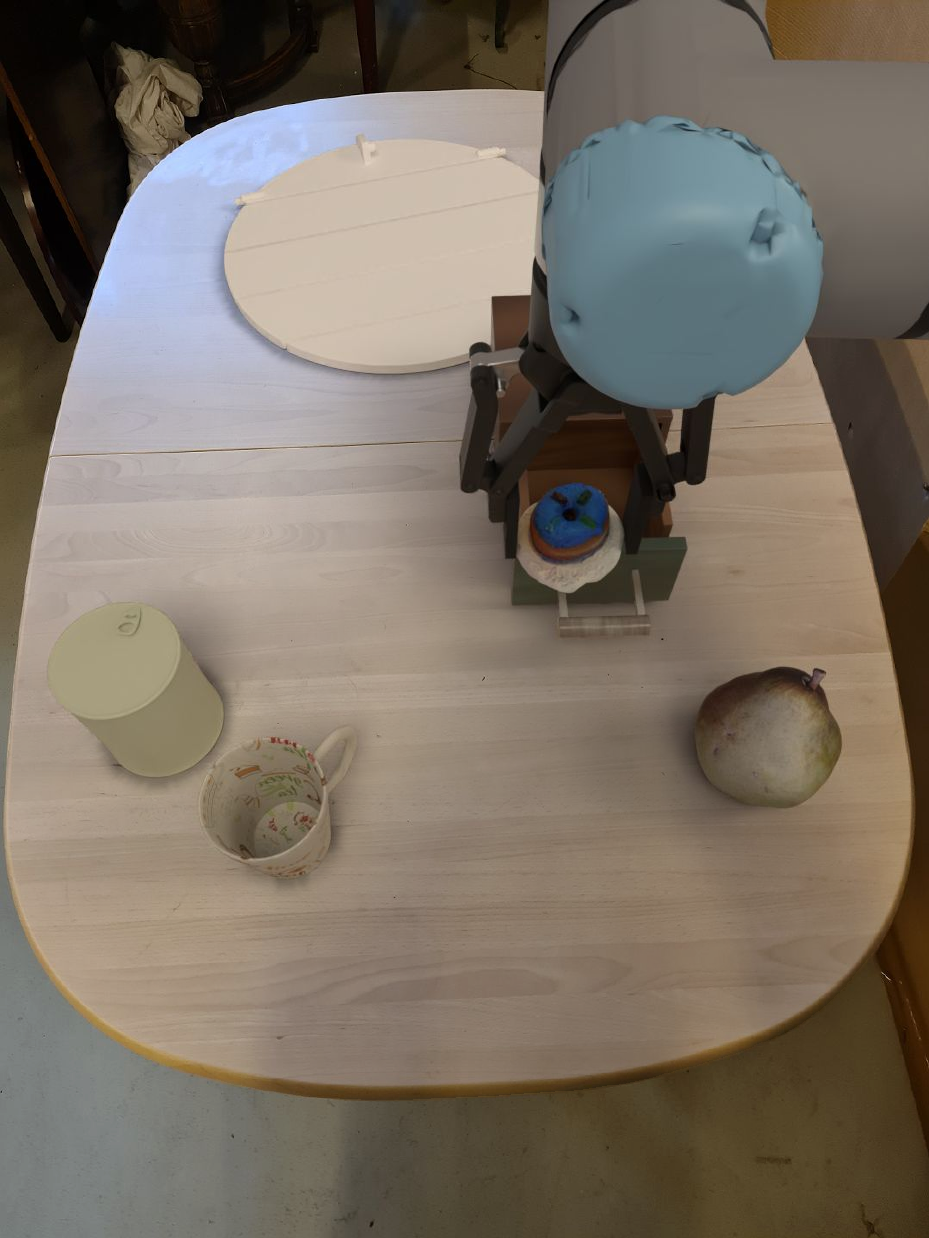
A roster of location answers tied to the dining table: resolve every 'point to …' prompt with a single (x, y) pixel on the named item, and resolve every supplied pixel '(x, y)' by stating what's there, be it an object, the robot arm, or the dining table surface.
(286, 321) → the lazy susan
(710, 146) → the robot arm
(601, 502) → the dessert
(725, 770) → the fruit
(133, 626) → the can
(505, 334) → the cabinet
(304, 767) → the mug
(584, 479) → the drawer
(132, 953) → the dining table surface
